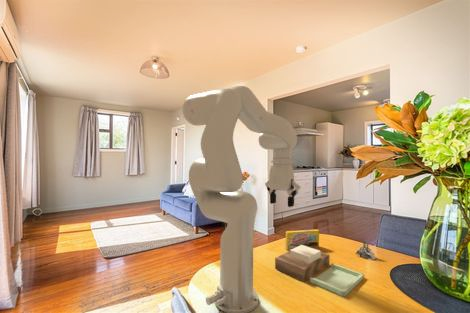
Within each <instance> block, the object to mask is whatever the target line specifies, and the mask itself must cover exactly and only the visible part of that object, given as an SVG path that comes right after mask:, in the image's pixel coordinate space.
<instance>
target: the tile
mask: <svg viewBox="0 0 470 313" xmlns="http://www.w3.org/2000/svg"><path fill="white" fill-rule="evenodd" d="M289 251H290V257H292V258H295V259H297V260H300V261H303V262H305V263H308V264H310V263H312V262H314V261H316V260H317V259H319V258H321V252H322V251H321V250H319V249H317V248H314V247H313V248H310V247H307V246H304V245H300V246H298V247H296V248H293V249H291V250H289Z"/></svg>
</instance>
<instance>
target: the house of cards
mask: <svg viewBox="0 0 470 313" xmlns="http://www.w3.org/2000/svg"><path fill="white" fill-rule="evenodd" d="M362 243H363V246H361V247H360V248H359V249H358V250H357V251H356V252H355V254H356V255H359V257H362V259H369V260H371V261H374V260H376V259H378V257H376V255H375V253H374V252H373V250H372V248H369V245H370V244H369V241H368V239H365V240H364V241H363V242H362Z"/></svg>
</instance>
